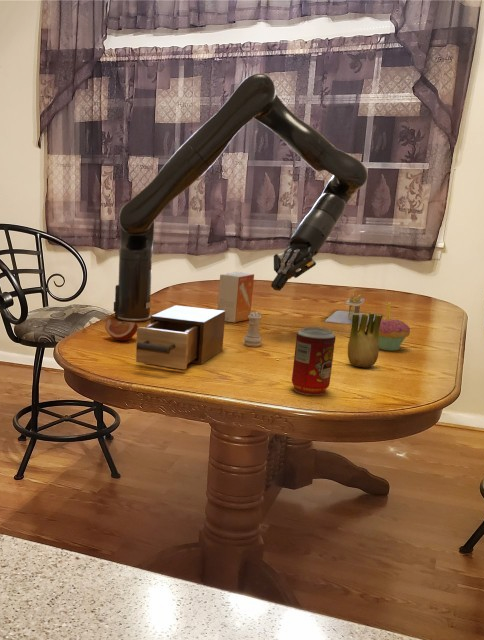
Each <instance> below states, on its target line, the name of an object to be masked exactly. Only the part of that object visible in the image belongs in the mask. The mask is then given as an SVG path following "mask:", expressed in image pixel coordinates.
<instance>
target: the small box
mask: <svg viewBox="0 0 484 640" xmlns="http://www.w3.org/2000/svg"><path fill="white" fill-rule="evenodd" d="M254 280H255V274H254V273H248V272H240V271H234V272H226V273H223V274H220V275H219V286H218V297H217V299H218V300H217V310H223V311H225V322H229V323H239V322H243V321H247V320H250V319H249V317H248V316H249V315H250V312H252V303H253V291H254Z"/></svg>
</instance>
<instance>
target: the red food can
mask: <svg viewBox="0 0 484 640" xmlns="http://www.w3.org/2000/svg"><path fill="white" fill-rule="evenodd" d="M335 344H336V335H335V333H334V332H333V330H330V329H329V328H321V327H316V326H315V327H313V326H307V327H303V328H301V329H299V330H298V331H297V332H296V338H295V347H294V356H293V364H292V365H293V366H292V375H291V383H292V385H293V388H294V389H293V390H294V391H295V392H296V393H298V394H301V395H306V396H321V395H324V394H325V393H326V390H327V389H328V388H329V386H330V384H331V377H332V376H331V375H332V367H333V361H334V353H335Z"/></svg>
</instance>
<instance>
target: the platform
mask: <svg viewBox="0 0 484 640" xmlns="http://www.w3.org/2000/svg"><path fill="white" fill-rule="evenodd" d="M365 301H366V298H364V297H363V298H361V294H359V295H358V296H356V297H355V293H353V294H352V295H351V296H350V297H349V299H347V300H346V301H345V305H348V307H349V308H348V311H346V310H338V309H337V310H336V311H335V312H333V314H331V315H330V316H329V317H327V319H325V322H326V323H334V324H335V323H337V324H343V325H352V317H353V314H355V313H357V314H359V322H358V326H360V322H361V317H362V314H364V313H365V312H360V309H361V305H362V304H363V303H364V302H365ZM367 314H368V319H369V313H367ZM376 314H377V313H374V319H375V315H376ZM368 319H367V324H368ZM374 319H373V321H374ZM367 324H366V327H367Z"/></svg>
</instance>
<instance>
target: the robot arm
mask: <svg viewBox="0 0 484 640" xmlns="http://www.w3.org/2000/svg"><path fill="white" fill-rule="evenodd" d="M253 119H254V120H255V121H256V122H259V123H260V124H262V125H263V126H265V127H266V128H268V129H269V130H270V131H272V132H273V133H274V134H276V135H277V136H278V137H279V138H280V140H282V141H283V142H284V143H285V144H286V145H287V146H288V147H289V148H290V149H291V150H292V151H293V153H295V154H296V155H297V156H298V157H299V158H300V159H302V161H304V162H305V163H306V164H307V166H309V167H310V168H311V169H312V170H314V171H315V172H317V173H321V172H324V171H325V172H328V173H329V174H330V175H332V176H331V178H330V179H329V180H328V182H327V184H326V185H325V188H324V190H323V191H322V193H321V195H320V196H319V198H318V199H317V200H316V202H315V203H314V205H313V206H312V208H311V209H310V211H309V212H308V213H307V214H306V215H305V216H304V218H302V221H301V222H300V224H299V225H298V226H297V228H296V229H295V231H294V232H293V234H292V235H291V237H290V239H289V246H288V247H287V248H285V249H284V251H283V253H281V254H278V253H276V254H274V255H273V271H274V272H275V273H276V275H275V276H274V279H273V280H272V282H271V285H270V286H271V288H272V289H273V290H274V291H281V290H282V289H283V288H284V287H285V285H286V284H287V282H288V281H289V280H291V279H292V278H295V279H297V278H299V277H300V276H302V275H303V274H304V273H306V272H307V271H309V270H310V269H312V268H313V267H315V266H316V265H317V262H316V261H315V259H314V256H317V254H319V252H320V250H321V249H322V247H323V246H324V244H325V243H326V241H327V240H328V238H329V237H330V235H331V233H332V232H333V230H334V228H335V226H336V224H337V223H338V222H339V220H340V218H341V217H342V215H343V214H344V212H345V210H346V206H347V204H348V202H349V201H350V200H351V198H352V197H353V196H354V195H355V194H356V193H357V192H358V191H359V190H360V189H361V188H363V187H364V185H365V184H366V182H367V180H368V177H369V175H368V170H367V168H366V166H365V165H364V163H362V162H361V160H359V159H357V158H356V157H354V156H353V155H350V154H349V153H347V152H345V151H343V150H341V149H338V148H337V147H336V146H335V145H334V144H332V142H331V141H329V140H328V139H327V138H326V137H325V136H324V135H323V134H321V132H319V131H318V130H317V129H315V128H314V127H313V126H311V125H310V124H308V123H307V122H305V121H304V120H302V119H301V118H299V117H298V116H297V115H296V114H294V112H292V111H291V110H290V109H289V108H288V107H287V106H286V105H285V103H284V102H283V101H282V100H281V99H280V97H279V96H278V95H277V93H276V86H275V84H274V81H273V79H272V78H271V77H270V76H269V75H267V74H264V73H255V74H251V75H249V76H248V77H246V78H245V79H244V80H242V81H241V83H240V84H239V85H238V86H237V88H236V89H235V90H234V91H233V93H232V94H231V95H230V96H229V98H228V99H227V100H226V101H225V103H224V104H223V105H222V107H221V108H219V110H217V112H216V113H215V114H214V115H213V116H212V117H210V118H209V119H208V120H207V121H206V122H205V123H204V124H203V125H201V127H200V128H198V129H197V130H196V131H195V132H194V133H193V134H192V135H191V136H190V137H189V138H188V139H187V140H186V141H185V142H184V143H183V144H182V145H181V146H180V147H179V148H178V149H177V150H176V151H175V152H174V154H173V155H171V157H170V158H169V159H168V160H167V161H166V163H165V164H164V165H163V166H162V167H161V169H160V170H159V172H158V173H157V175H155V177H154V178H153V179H152V181H150V183H148V184H147V186H145V187H144V188H143V189H142V190H140V192H139V193H137V194H136V195H135V196H134V197H132V198H131V199H130V200H128V201H127V202H126V203H125V204H123V206H122V207H121V209H120V210H119V214H118V222H119V225H120V243H119V250H118V282H117V283H118V284H116V285H115V291H114V294H115V295H114V296H115V298H114V302H113V312H114V319H117V320H120V321H127V322H134V323H136V322H145V321H149V320H151V305H152V302H151V297H152V296H151V294H152V293H151V292H152V271H153V270H152V269H153V251H154V250H153V249H154V235H155V220H156V219H157V218H158V217H159V215H160V214H161V213H162V212H163V211H164V210H165V208H166V207H167V206H168V205H169V204H170V203H171V202H172V201H173V200H175V198H177V197H179V195H181V194H182V193H184V192H185V191H186V190H187V189H188V188H189V187H191V186H192V185H193V184H195V182H197V181H198V180H199V179H200V178H201V177H202V176H203V175H204V174H205V173H206V172H207V171H208V170H209V169H210V168H211V167H212V166H213V165H214V164H215V163H216V162H217V160H218V159H219V157H220V156H221V155H222V154H223V152H224V151H225V150H226V149H227V147H228V146H229V144H230V143H231V141H232V140H233V139H234V137H236V135H237V134H238V133H239V132H240V131H241V129H243V128H244V127H245V126H246V125H247V124H248V123H250V121H252V120H253Z"/></svg>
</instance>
